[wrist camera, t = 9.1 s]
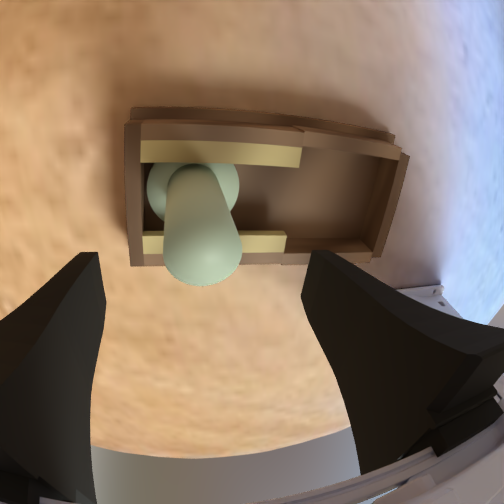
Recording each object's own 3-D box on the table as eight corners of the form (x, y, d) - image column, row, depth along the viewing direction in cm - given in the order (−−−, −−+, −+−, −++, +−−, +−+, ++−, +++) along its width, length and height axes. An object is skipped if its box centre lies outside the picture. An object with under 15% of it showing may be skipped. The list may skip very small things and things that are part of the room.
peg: (240, 141, 17) (281, 187, 10) (232, 223, 19) (263, 305, 13) (148, 140, 15) (127, 186, 9) (149, 224, 18) (138, 309, 12)
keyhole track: (390, 133, 19) (413, 142, 17) (360, 250, 23) (376, 268, 21) (132, 107, 15) (125, 112, 13) (135, 252, 19) (131, 275, 17)
